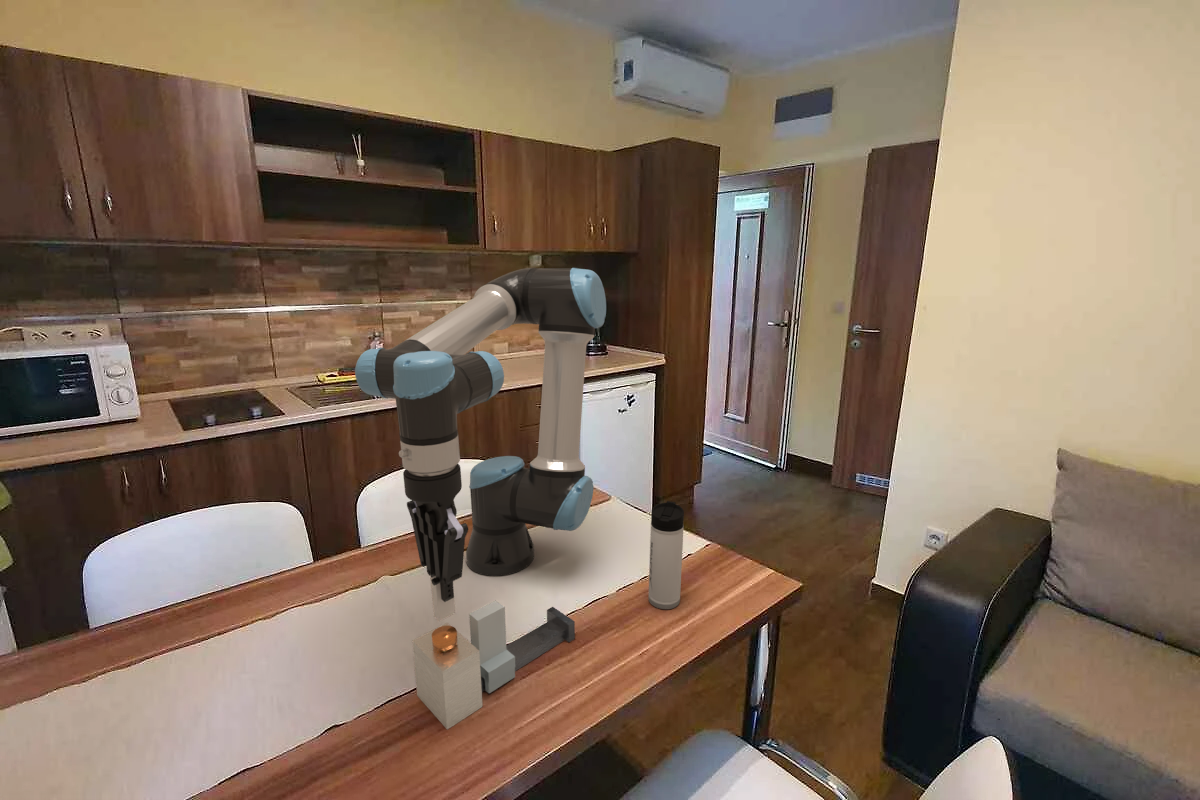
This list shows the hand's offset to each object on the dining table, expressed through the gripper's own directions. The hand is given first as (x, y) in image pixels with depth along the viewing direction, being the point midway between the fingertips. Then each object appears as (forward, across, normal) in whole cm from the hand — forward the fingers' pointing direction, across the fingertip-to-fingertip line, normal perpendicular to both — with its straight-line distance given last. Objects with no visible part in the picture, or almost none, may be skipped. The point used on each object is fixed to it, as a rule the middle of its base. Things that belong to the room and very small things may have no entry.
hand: (444, 614), depth 82 cm
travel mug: (+16, +7, +43) cm, 47 cm away
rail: (+15, 0, +10) cm, 18 cm away
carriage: (+15, 0, +7) cm, 17 cm away
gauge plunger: (+12, 0, -1) cm, 12 cm away
